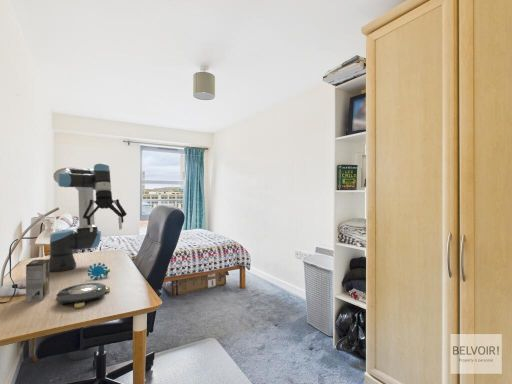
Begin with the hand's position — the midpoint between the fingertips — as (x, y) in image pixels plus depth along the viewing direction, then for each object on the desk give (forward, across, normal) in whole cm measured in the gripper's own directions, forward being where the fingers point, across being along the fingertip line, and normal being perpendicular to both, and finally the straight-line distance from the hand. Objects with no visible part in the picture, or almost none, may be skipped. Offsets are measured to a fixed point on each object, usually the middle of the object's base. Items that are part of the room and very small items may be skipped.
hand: (106, 230), depth 139 cm
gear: (+22, -1, +22) cm, 31 cm away
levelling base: (+31, -14, -4) cm, 34 cm away
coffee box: (+26, -28, +9) cm, 39 cm away
